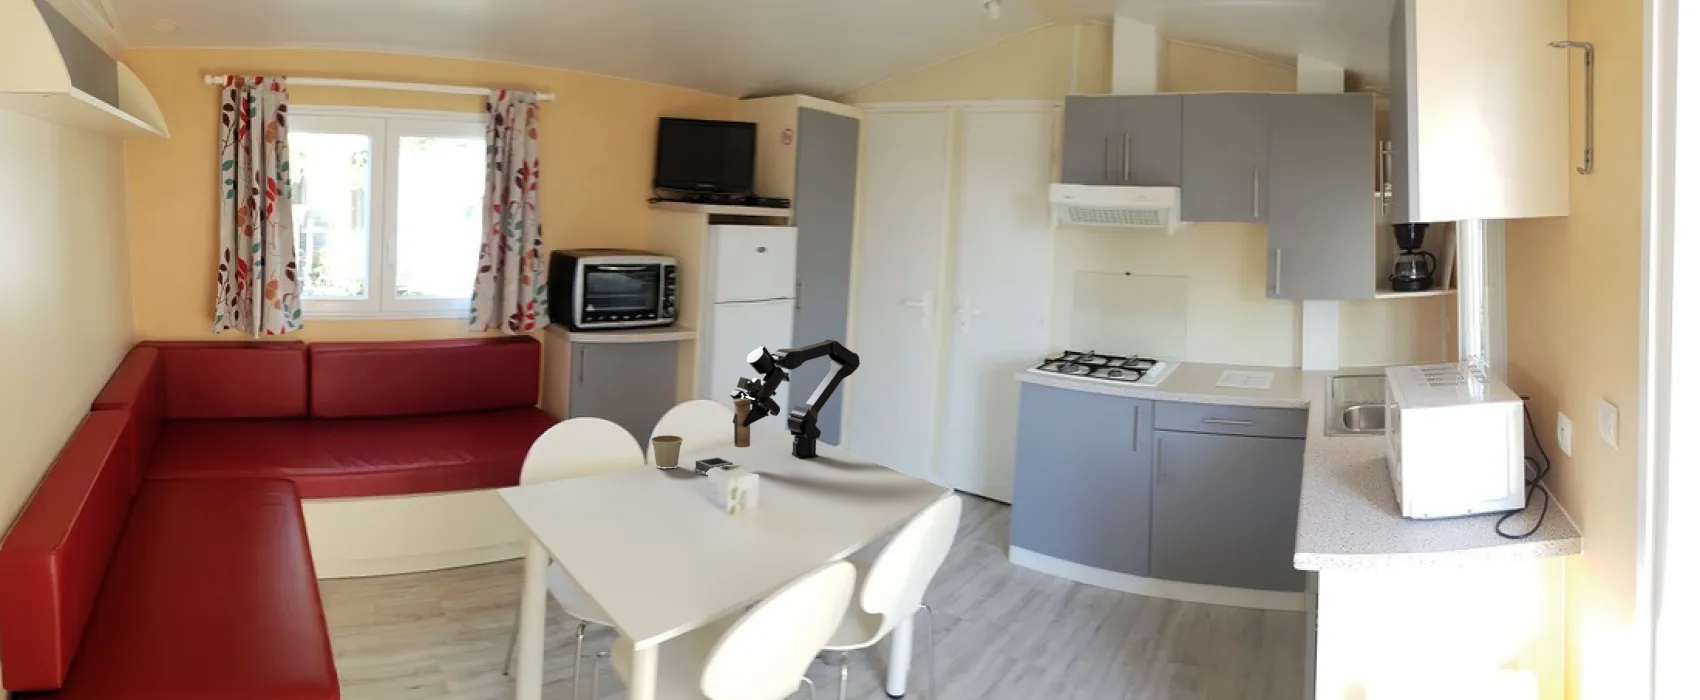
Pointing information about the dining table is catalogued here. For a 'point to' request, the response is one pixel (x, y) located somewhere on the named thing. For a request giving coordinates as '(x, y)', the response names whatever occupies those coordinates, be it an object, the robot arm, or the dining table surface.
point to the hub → (709, 464)
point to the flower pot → (667, 450)
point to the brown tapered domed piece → (741, 422)
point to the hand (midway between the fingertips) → (738, 424)
